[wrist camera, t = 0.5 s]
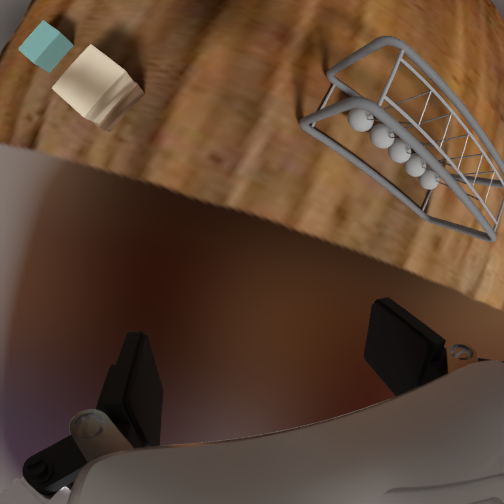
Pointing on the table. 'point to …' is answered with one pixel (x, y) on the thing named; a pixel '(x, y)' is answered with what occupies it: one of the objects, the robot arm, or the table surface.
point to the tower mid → (93, 84)
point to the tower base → (121, 108)
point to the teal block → (45, 46)
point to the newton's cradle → (409, 137)
